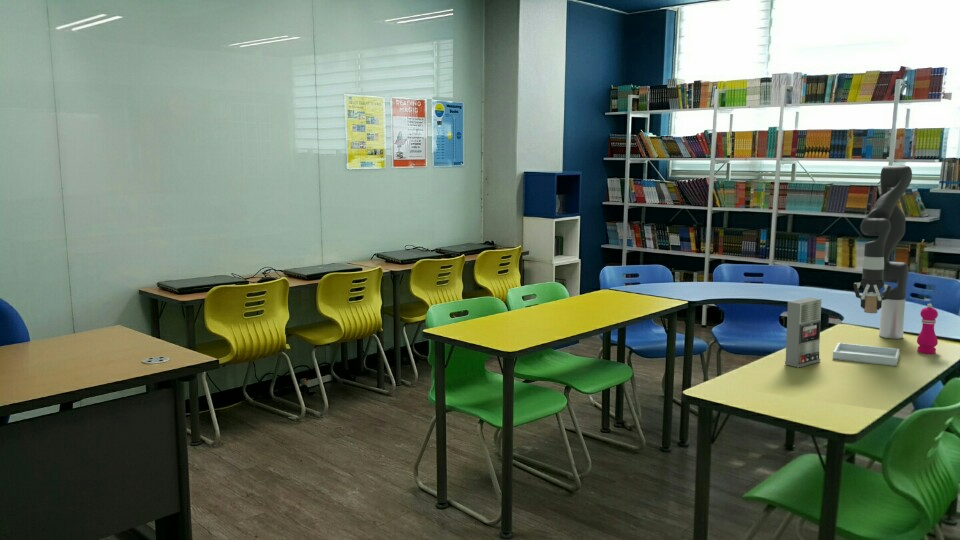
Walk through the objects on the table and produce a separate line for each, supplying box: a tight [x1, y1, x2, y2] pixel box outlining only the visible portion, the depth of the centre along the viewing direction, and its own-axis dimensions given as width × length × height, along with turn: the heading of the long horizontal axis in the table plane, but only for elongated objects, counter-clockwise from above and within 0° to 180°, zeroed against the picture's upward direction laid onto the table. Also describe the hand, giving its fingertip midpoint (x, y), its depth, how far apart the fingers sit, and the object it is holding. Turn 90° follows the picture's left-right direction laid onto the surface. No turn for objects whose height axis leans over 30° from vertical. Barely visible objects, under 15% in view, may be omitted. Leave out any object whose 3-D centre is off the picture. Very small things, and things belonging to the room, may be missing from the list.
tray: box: [832, 342, 900, 367], centre depth 287 cm, size 16×22×3 cm
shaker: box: [863, 292, 879, 314], centre depth 293 cm, size 5×5×8 cm
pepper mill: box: [916, 303, 939, 355], centre depth 291 cm, size 7×7×20 cm
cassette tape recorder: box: [784, 297, 822, 369], centre depth 279 cm, size 14×6×25 cm, turn 122°
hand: (870, 308), depth 293 cm, fingers closed on shaker, 4 cm apart
